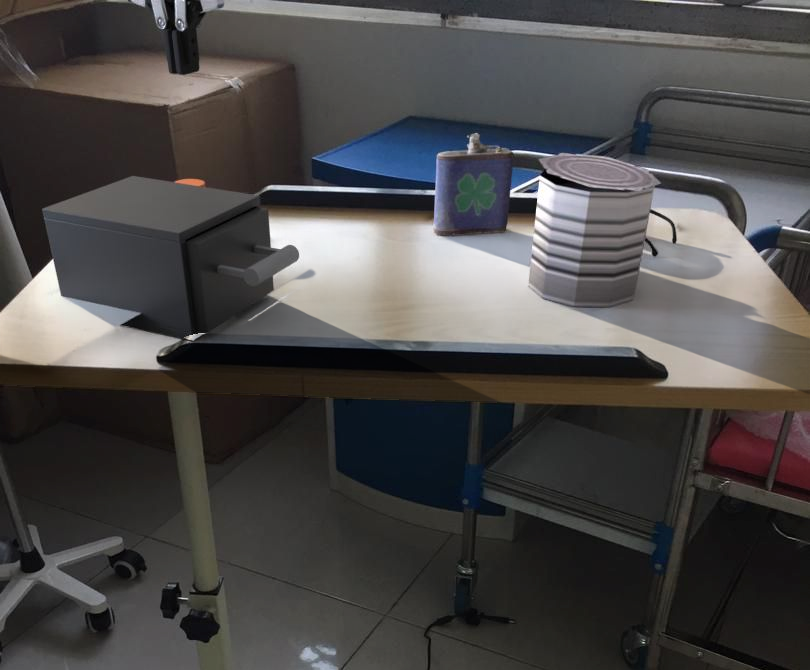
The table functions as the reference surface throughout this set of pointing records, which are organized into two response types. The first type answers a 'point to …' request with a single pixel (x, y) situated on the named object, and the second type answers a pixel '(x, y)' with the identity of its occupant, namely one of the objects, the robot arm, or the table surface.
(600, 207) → the can
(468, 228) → the flask
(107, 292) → the grey drawer casing
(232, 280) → the pull-out drawer box
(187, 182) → the button
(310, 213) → the table surface
